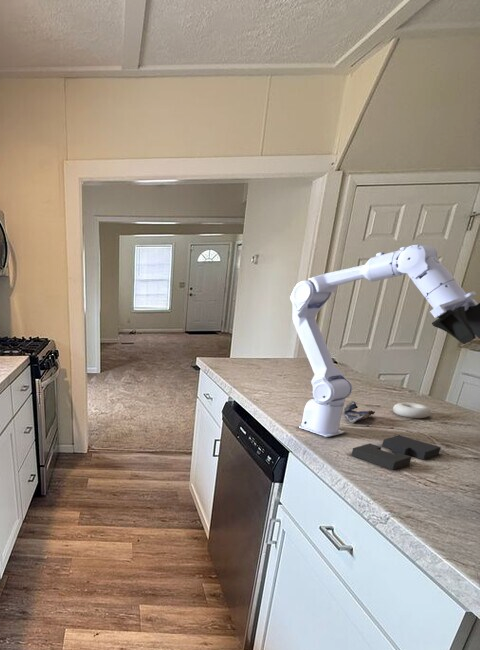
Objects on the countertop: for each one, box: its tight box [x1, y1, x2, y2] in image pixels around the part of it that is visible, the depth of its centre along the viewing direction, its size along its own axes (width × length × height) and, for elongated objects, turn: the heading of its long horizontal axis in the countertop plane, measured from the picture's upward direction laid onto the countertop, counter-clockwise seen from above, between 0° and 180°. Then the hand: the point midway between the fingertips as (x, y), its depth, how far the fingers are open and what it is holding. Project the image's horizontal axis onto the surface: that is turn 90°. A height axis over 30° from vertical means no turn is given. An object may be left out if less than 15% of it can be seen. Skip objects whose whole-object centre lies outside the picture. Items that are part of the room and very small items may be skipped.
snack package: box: [343, 401, 376, 424], centre depth 129 cm, size 12×6×12 cm
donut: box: [392, 401, 432, 419], centre depth 132 cm, size 10×4×10 cm
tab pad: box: [381, 434, 442, 460], centre depth 104 cm, size 10×9×2 cm
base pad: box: [351, 443, 412, 471], centre depth 100 cm, size 10×7×2 cm
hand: (479, 338), depth 85 cm, fingers open, 7 cm apart
